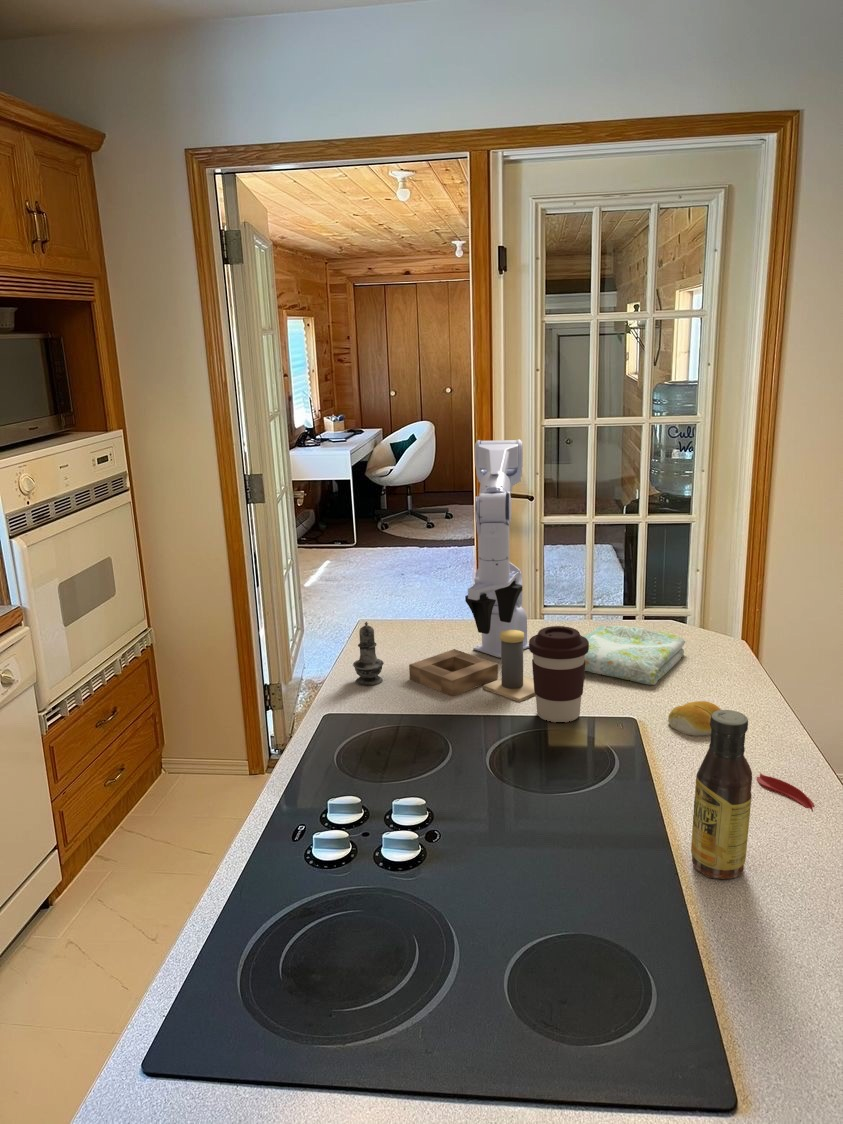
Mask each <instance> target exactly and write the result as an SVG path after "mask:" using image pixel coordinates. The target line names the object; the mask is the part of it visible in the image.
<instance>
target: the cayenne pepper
mask: <svg viewBox="0 0 843 1124" xmlns="http://www.w3.org/2000/svg"><path fill="white" fill-rule="evenodd" d="M756 781H757V783H758V785H760V786H761V787H762V788H763V789H767V790H769V791H771V792H774V793H777V794H780V795H782V796H784V797H787V798H789V799H790V800H793V801H794V802H796V803H798V804H799V805H801V806H803V807H804V808H806V809H810V810H811V812H813V808H815V807H816V806H815V804H814V802H813V800H812V799H811V798H810V797H809V796H807V795H806V794H805V793H804V792H803V791H802V790H800V789H799V788H798V787H796V786H794V785H793V784H790V783H789V782H786V781H783V780H781V779H778V778H776V777H772V776H769V775H764V774H762V772H760V774H759V776H756Z"/></svg>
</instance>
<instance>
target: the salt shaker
mask: <svg viewBox="0 0 843 1124" xmlns="http://www.w3.org/2000/svg"><path fill="white" fill-rule="evenodd" d="M368 624H369V623H368V622H367V621H365V623H364V625H363V626H362V627H360V629H359V634H358V635H359V643H358V645H357V647H359V658H358V660H356V661H354V662H353V663H352V666H353V668H354V670H355V672H356V674H357V675H358V676H359V677H357V678H356V679H355V684H356V685H358V686H361V687H374V686H377V685H380V684H381V683H383V681H384V679H383V677H382V676H380V674H381V672H382V669H383V666H384V663H385V662H384V661H383V660H382V659H379V658H378V657H377V654H376V647H377V642H375V629H374V628H373V626H370V625H368Z"/></svg>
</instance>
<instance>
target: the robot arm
mask: <svg viewBox="0 0 843 1124" xmlns="http://www.w3.org/2000/svg"><path fill="white" fill-rule="evenodd" d="M474 444H475V445H474V465H475V466H474V467H475V470H476V471H475V472H476V477H477V480H478V483H480V484H479V485H480V486H479V492H478V496H475V498H474V519H475V523H476V524H475V525H476V534H477V542H478V543H477V547H478V568H477V569H476V572H475V577H474V579H473V582H474V584H473V585H471V587H468V588H467V595H465V596H464V597H465V602H466V604H467V606H468V607H469V609H470V611H471V613H472V616H473V619H474V622H475V626H476V628H477V629H476V630H477V632H478V633H480V634H481V644H478V645H475V646H473V650H475V651H478V652H479V653H480V652H481V653H484V654H487V655H491V656H492V657H496V658H501V640H500V633H501V632H502V631H505V630H519V631H522V632H524V640H523V650H526V649H529V643H528V617H527V613H526V610H525V609H524V608H523V607H522V606H523V593H524V592H523V587H524V585H523V573H522V572H521V569H520V568H519V567H517V566H516V565H515V564H513V563H512V562H511V561H510V524H511V520H512V498H511V497H512V496H511V493H512V490H513V486H515V485H517V484H519V483H520V482H522V480H521V479H522V477H523V465H524V464H523V461H524V460H523V458H524V456H523V455H524V453H523V447H524V446H523V445H524V443H523V441H522V440H521V439H519V438H518V439H514V440H513V439H512V440H511V439H510V440H503V439H501V440H481V439H478V440H477V441H476V442H475V443H474Z"/></svg>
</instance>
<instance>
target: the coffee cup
mask: <svg viewBox="0 0 843 1124" xmlns="http://www.w3.org/2000/svg"><path fill="white" fill-rule="evenodd" d="M583 636H584V635H581V633H580V631H578V629H576V628H574V627H570V626H564V625H563V626H562V625H561V626H560V625H555V626H552V625H551V626H547V627H543V628H541V629H540V630H538V632H537V634H535V635H533V636H531V637H530V638H529V641H528V644H529V648H528V651H529V652H530V653H531V654H532V661H531V664H532V665H531V666H532V678H533V681H534V692H535V694H536V695H535V702H536V703H535V705H536V713H537V716H538V717H539V718H540V719H542V720H544V721H546V720H547V722H549V721H551V723H556V722H565V723H569V721H570V722H573V721H575V720H577V719H578V718H579V717H580V714H581V706H582V695H583V693H584V687H585V686H584V684H585V683H584V682H585V675H586V674H585V672H586V671H585V660H584V659H585V654H587V653H588V651H589V641H588V640H587V639H586V638H585V637H583Z"/></svg>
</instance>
